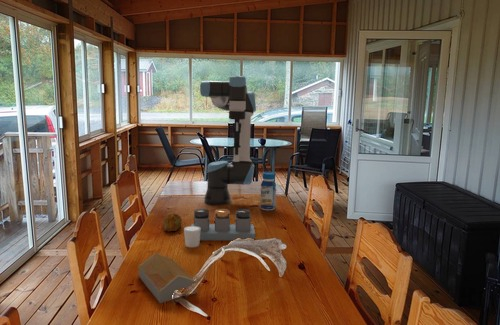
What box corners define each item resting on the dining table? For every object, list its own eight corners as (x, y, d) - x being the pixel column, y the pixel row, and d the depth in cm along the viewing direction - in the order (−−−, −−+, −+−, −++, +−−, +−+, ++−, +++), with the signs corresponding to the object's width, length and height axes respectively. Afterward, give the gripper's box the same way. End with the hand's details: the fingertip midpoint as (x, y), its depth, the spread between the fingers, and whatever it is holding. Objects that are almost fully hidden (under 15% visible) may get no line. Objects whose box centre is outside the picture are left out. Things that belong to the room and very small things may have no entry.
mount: (191, 230, 176) (191, 212, 174) (253, 230, 177) (253, 212, 176) (188, 240, 164) (188, 220, 163) (255, 240, 165) (255, 221, 164)
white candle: (194, 240, 164) (194, 224, 163) (204, 245, 159) (204, 228, 158) (180, 244, 159) (180, 228, 158) (190, 249, 154) (190, 232, 153)
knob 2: (235, 224, 173) (235, 208, 172) (249, 225, 174) (250, 209, 173) (235, 229, 167) (236, 213, 166) (250, 229, 168) (250, 213, 166)
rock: (161, 237, 178) (163, 217, 184) (179, 239, 180) (180, 219, 186) (164, 227, 169) (166, 206, 175) (183, 228, 172) (184, 208, 177)
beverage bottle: (278, 209, 212) (279, 173, 209) (266, 211, 207) (267, 174, 204) (269, 205, 219) (270, 170, 216) (257, 207, 214) (257, 172, 211)
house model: (197, 293, 120) (197, 270, 119) (158, 304, 114) (158, 280, 112) (173, 269, 137) (172, 249, 136) (137, 277, 130) (137, 256, 129)
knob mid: (215, 224, 173) (215, 208, 172) (229, 224, 173) (229, 208, 172) (214, 229, 167) (214, 213, 165) (229, 229, 167) (229, 213, 166)
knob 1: (195, 224, 173) (194, 208, 171) (209, 224, 173) (209, 208, 172) (193, 229, 166) (193, 212, 165) (208, 229, 167) (208, 213, 165)
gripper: (229, 109, 184) (228, 159, 188) (228, 110, 171) (228, 163, 175) (244, 110, 184) (243, 159, 188) (245, 111, 171) (244, 163, 175)
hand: (236, 161), depth 182 cm, fingers closed
